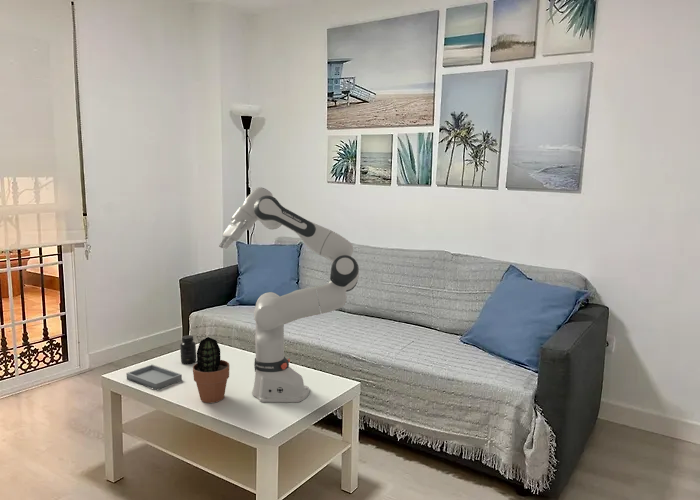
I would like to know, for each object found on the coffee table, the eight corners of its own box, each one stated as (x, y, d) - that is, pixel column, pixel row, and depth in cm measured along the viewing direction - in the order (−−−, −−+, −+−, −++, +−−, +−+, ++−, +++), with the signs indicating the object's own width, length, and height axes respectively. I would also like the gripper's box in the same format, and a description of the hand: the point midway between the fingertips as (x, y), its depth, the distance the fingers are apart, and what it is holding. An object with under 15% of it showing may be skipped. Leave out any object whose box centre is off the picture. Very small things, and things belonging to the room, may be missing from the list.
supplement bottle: (181, 359, 248) (180, 334, 246) (197, 358, 250) (196, 334, 248) (180, 365, 242) (178, 339, 240) (195, 364, 243) (194, 338, 241)
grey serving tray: (181, 380, 224) (181, 374, 224) (156, 390, 214) (156, 384, 214) (152, 369, 236) (152, 364, 235) (126, 378, 226) (126, 373, 225)
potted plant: (237, 395, 210) (236, 333, 206) (213, 408, 198) (211, 343, 194) (211, 388, 216) (208, 328, 212) (186, 401, 204) (183, 337, 201)
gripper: (254, 225, 213) (233, 253, 210) (243, 225, 232) (224, 251, 229) (241, 215, 211) (220, 243, 208) (232, 216, 230) (212, 242, 227)
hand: (222, 247), depth 219 cm, fingers open, 8 cm apart
